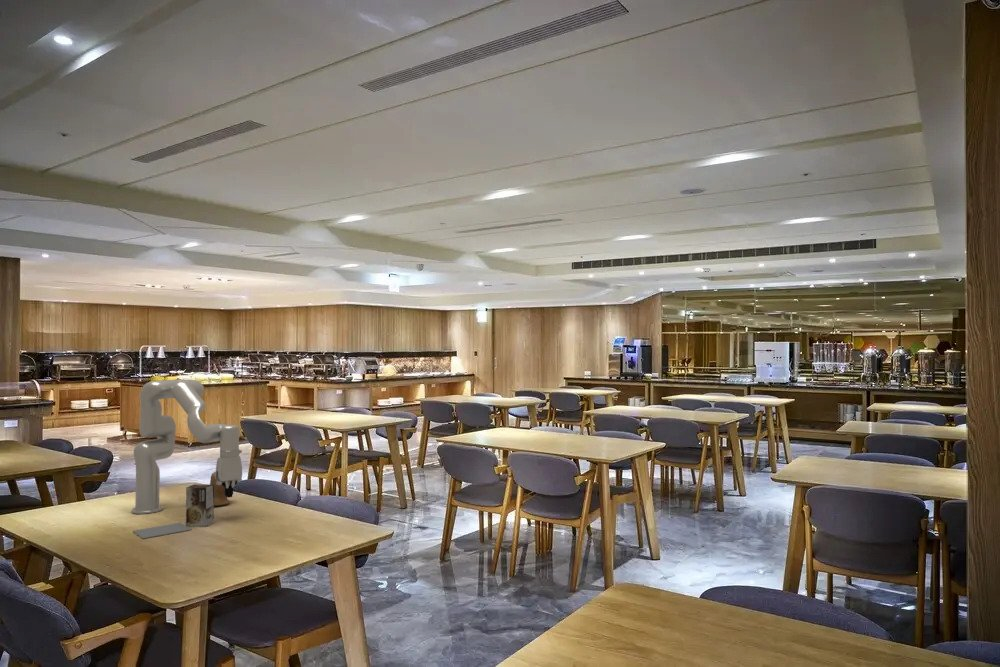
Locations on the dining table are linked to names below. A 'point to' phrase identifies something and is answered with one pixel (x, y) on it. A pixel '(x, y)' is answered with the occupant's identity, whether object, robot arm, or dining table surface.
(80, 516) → the dining table surface
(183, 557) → the dining table surface
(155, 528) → the mat
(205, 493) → the coffee box
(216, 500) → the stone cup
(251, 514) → the dining table surface
